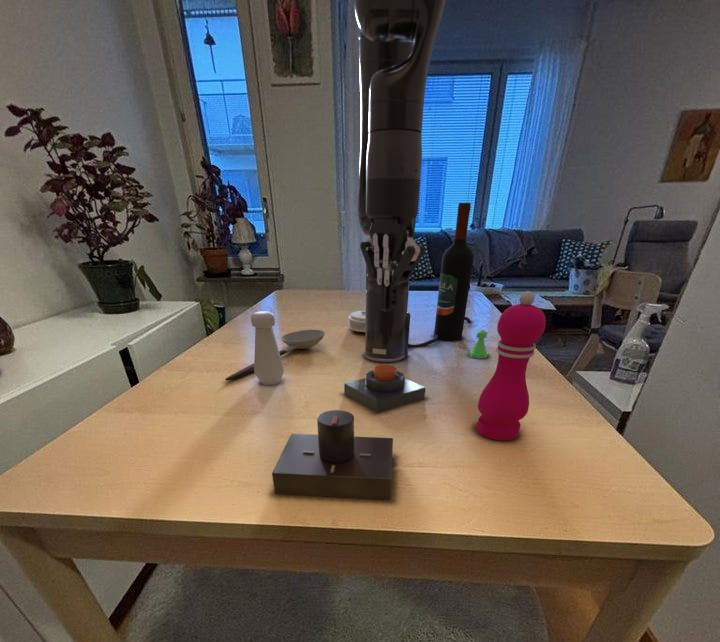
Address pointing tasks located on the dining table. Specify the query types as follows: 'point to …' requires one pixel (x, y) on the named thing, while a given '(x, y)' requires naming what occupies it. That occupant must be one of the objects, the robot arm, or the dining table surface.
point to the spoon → (294, 341)
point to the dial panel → (335, 469)
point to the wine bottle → (454, 282)
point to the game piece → (479, 346)
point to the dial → (336, 436)
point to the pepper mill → (511, 371)
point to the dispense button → (385, 372)
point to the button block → (384, 392)
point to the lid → (357, 321)
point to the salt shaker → (266, 349)
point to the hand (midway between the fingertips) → (387, 310)
